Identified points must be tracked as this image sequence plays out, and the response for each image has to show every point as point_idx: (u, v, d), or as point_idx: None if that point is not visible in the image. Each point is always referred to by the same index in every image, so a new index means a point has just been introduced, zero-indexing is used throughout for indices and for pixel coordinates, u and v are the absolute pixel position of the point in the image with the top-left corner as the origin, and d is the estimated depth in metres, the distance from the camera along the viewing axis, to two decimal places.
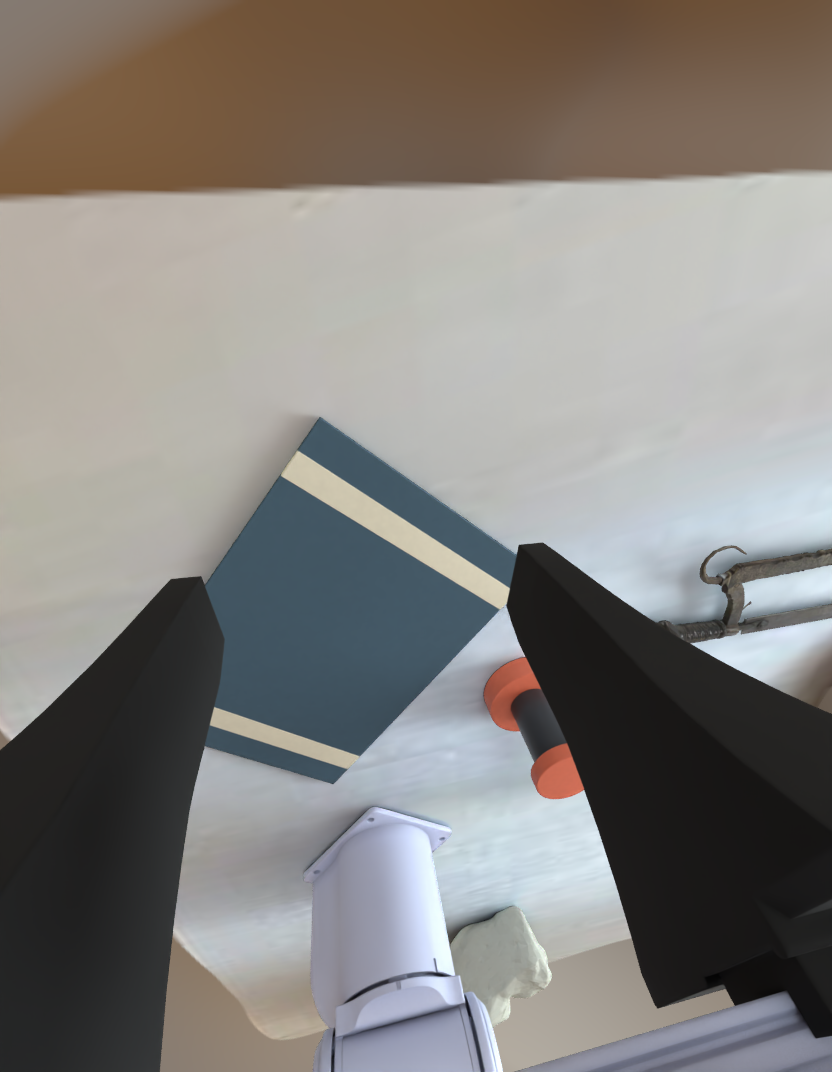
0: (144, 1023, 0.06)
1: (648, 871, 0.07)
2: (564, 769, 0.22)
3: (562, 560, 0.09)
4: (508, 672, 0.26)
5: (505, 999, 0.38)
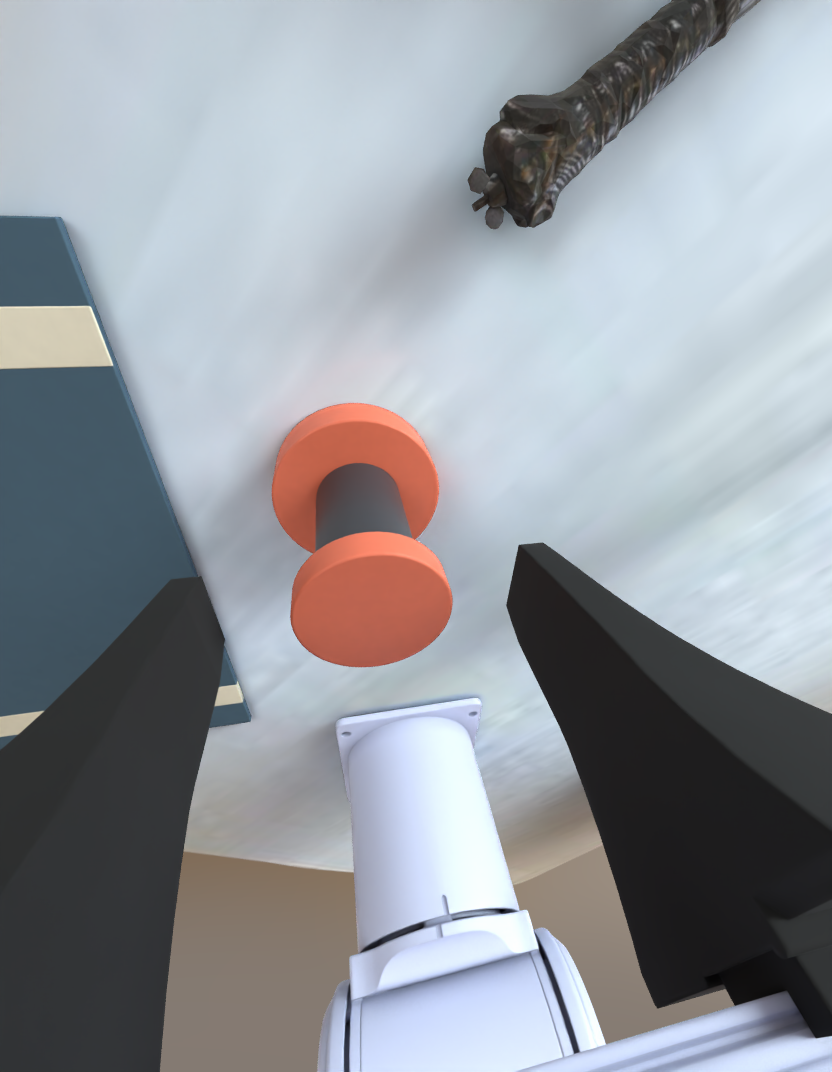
0: (144, 1024, 0.06)
1: (648, 871, 0.07)
2: (334, 608, 0.09)
3: (562, 560, 0.09)
4: None
5: None
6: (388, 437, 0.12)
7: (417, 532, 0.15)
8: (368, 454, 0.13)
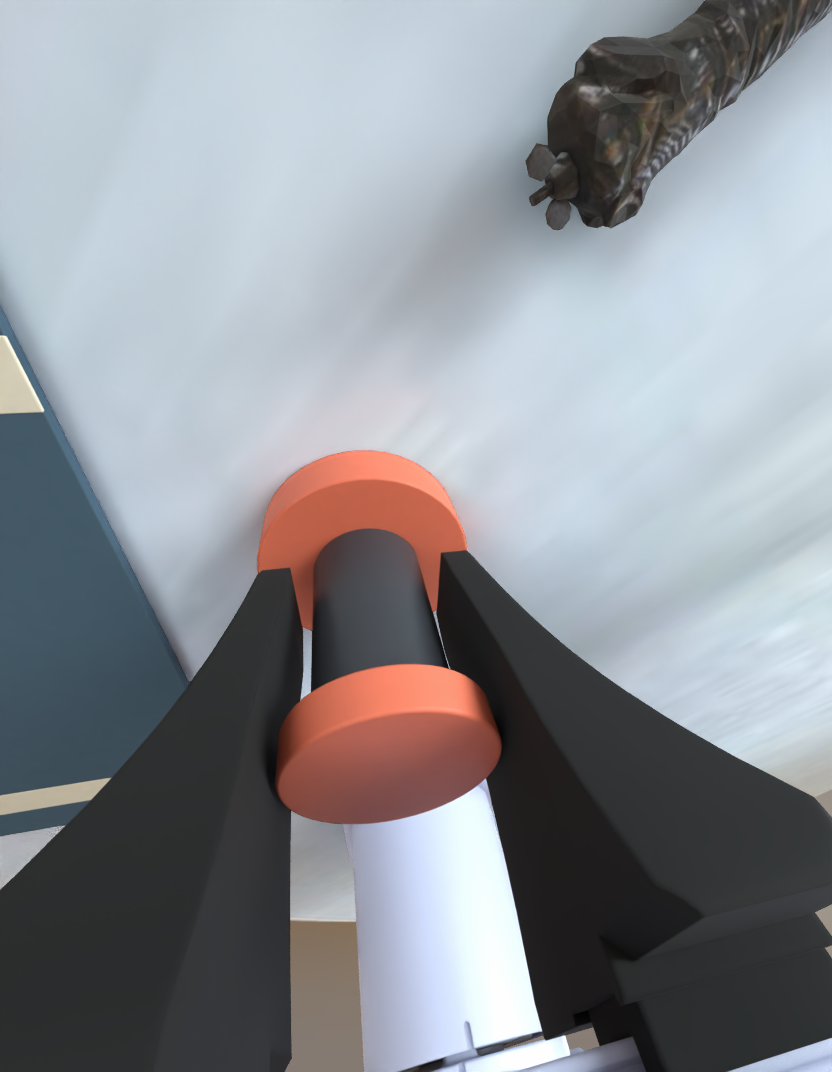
0: (283, 989, 0.06)
1: (534, 898, 0.06)
2: (337, 773, 0.06)
3: (479, 569, 0.09)
4: None
5: None
6: (406, 497, 0.10)
7: None
8: (380, 517, 0.10)
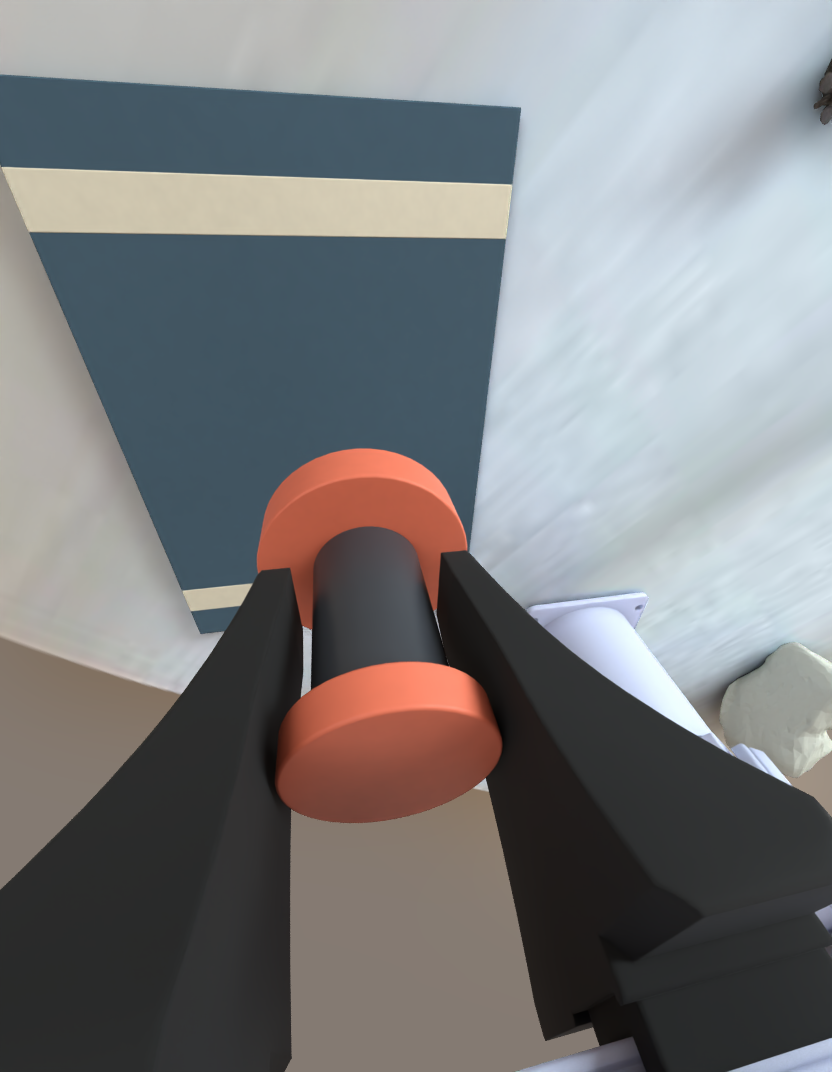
0: (282, 990, 0.06)
1: (534, 898, 0.06)
2: (337, 771, 0.06)
3: (479, 569, 0.09)
4: None
5: (817, 734, 0.31)
6: (406, 495, 0.10)
7: None
8: (380, 515, 0.10)
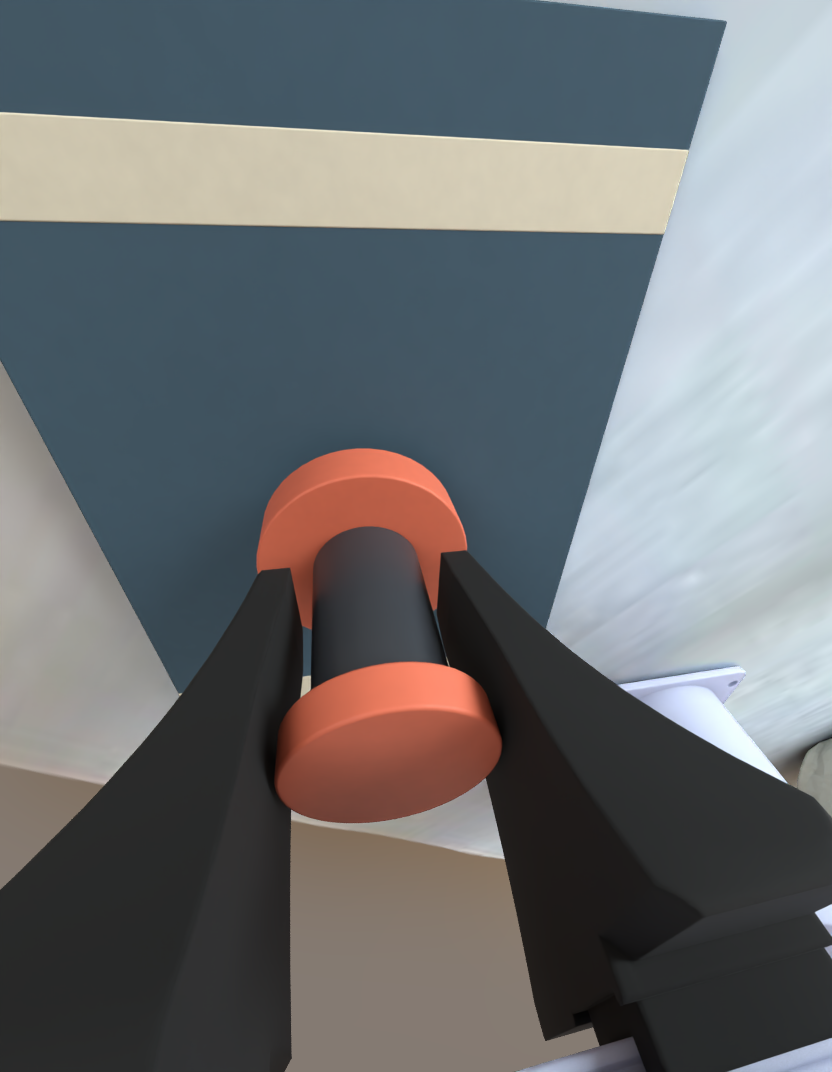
0: (281, 989, 0.06)
1: (534, 897, 0.06)
2: (337, 771, 0.06)
3: (479, 569, 0.09)
4: None
5: None
6: (406, 495, 0.10)
7: None
8: (380, 515, 0.10)
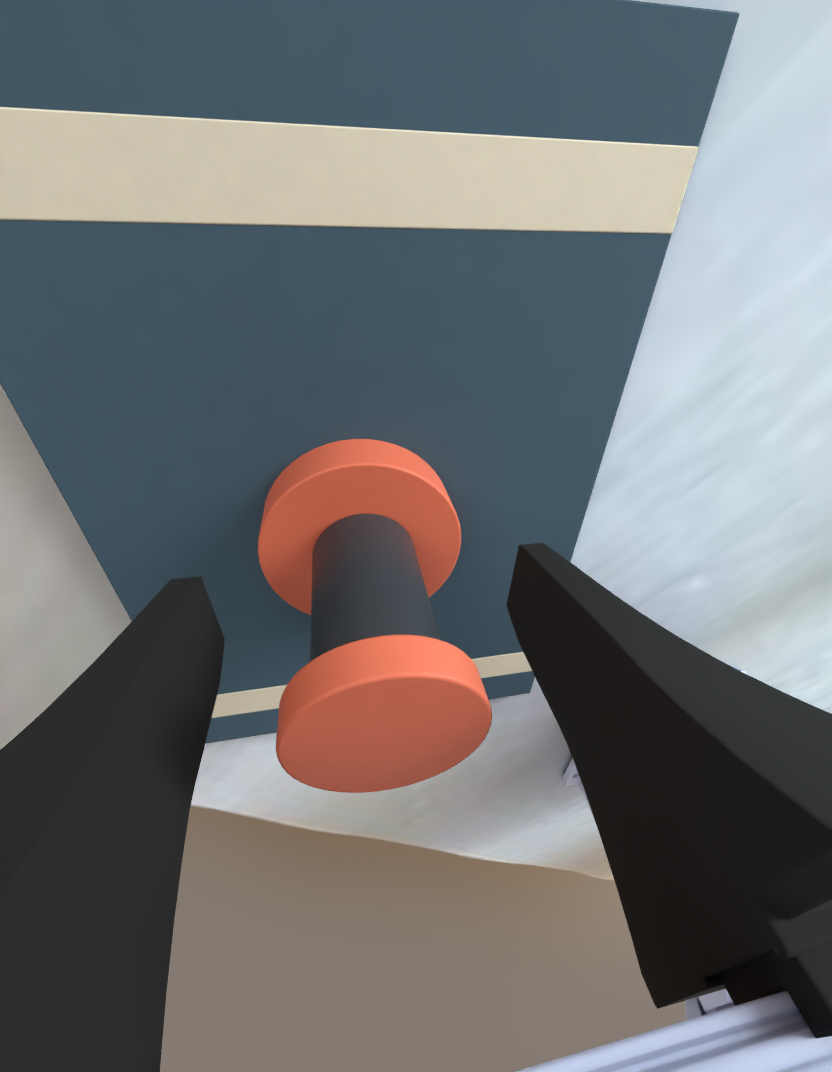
0: (144, 1024, 0.06)
1: (648, 871, 0.07)
2: (335, 738, 0.07)
3: (562, 560, 0.09)
4: None
5: None
6: (402, 483, 0.10)
7: (434, 588, 0.12)
8: (376, 502, 0.10)
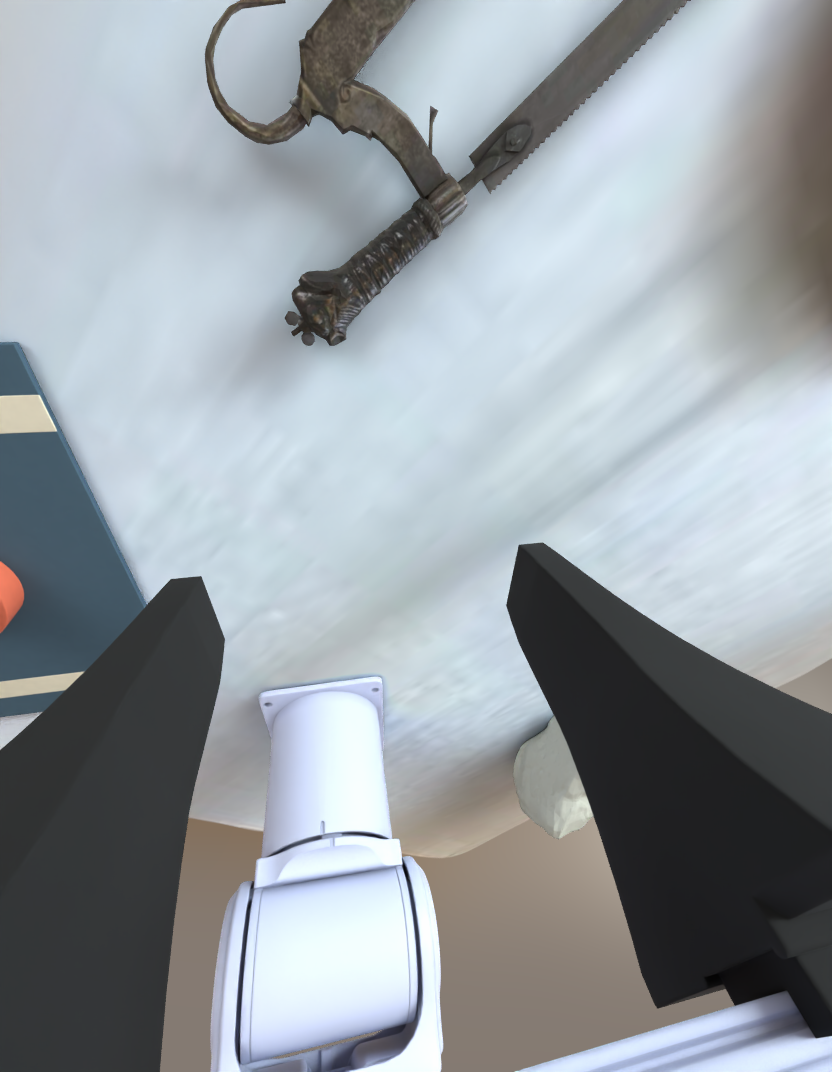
0: (144, 1023, 0.06)
1: (648, 871, 0.07)
2: None
3: (562, 560, 0.09)
4: None
5: (574, 799, 0.33)
6: None
7: (1, 624, 0.19)
8: None
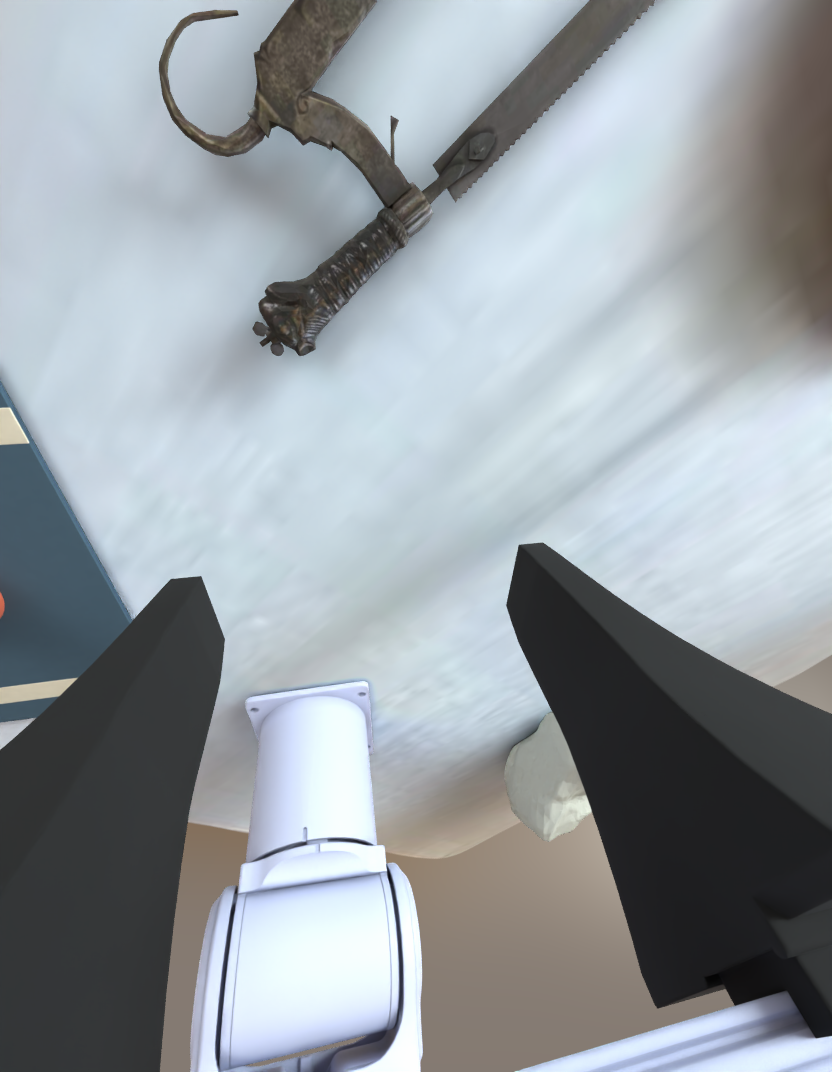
0: (144, 1023, 0.06)
1: (648, 871, 0.07)
2: None
3: (562, 560, 0.09)
4: None
5: (564, 802, 0.33)
6: None
7: None
8: None
